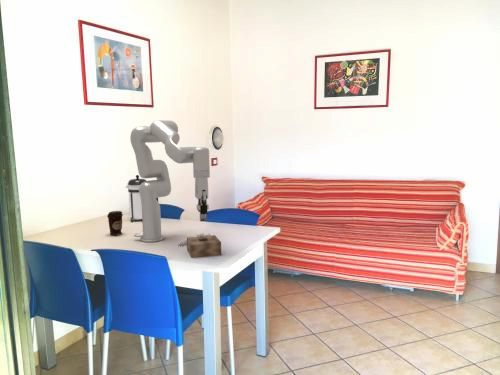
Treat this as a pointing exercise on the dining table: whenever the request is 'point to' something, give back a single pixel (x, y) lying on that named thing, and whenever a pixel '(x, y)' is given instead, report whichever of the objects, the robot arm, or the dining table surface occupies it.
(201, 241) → the pin block
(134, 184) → the coffee press
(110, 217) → the coffee cup
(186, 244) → the adjustable wrench
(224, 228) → the dining table surface
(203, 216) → the pin
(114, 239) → the dining table surface
